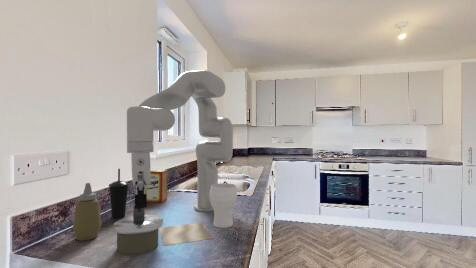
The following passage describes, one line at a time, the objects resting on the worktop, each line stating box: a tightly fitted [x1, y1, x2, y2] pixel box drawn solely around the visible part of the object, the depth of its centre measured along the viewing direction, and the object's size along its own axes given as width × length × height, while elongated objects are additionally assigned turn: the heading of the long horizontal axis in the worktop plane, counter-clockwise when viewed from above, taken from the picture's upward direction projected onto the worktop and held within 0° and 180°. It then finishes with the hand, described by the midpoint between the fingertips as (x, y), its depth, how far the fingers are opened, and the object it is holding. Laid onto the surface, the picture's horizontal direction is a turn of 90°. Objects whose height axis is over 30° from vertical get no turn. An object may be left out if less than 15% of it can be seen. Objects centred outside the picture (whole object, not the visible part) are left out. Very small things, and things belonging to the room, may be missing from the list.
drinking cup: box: [108, 168, 130, 219], centre depth 105 cm, size 8×8×20 cm
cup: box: [210, 182, 238, 229], centre depth 97 cm, size 11×11×15 cm
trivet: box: [159, 222, 215, 247], centre depth 88 cm, size 16×16×1 cm
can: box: [116, 228, 159, 257], centre depth 76 cm, size 12×12×7 cm
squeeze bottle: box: [72, 182, 102, 242], centre depth 84 cm, size 8×8×18 cm
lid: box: [112, 204, 164, 234], centre depth 77 cm, size 14×14×6 cm
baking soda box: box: [146, 168, 168, 204], centre depth 132 cm, size 10×6×16 cm
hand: (140, 203), depth 77 cm, fingers open, 9 cm apart
